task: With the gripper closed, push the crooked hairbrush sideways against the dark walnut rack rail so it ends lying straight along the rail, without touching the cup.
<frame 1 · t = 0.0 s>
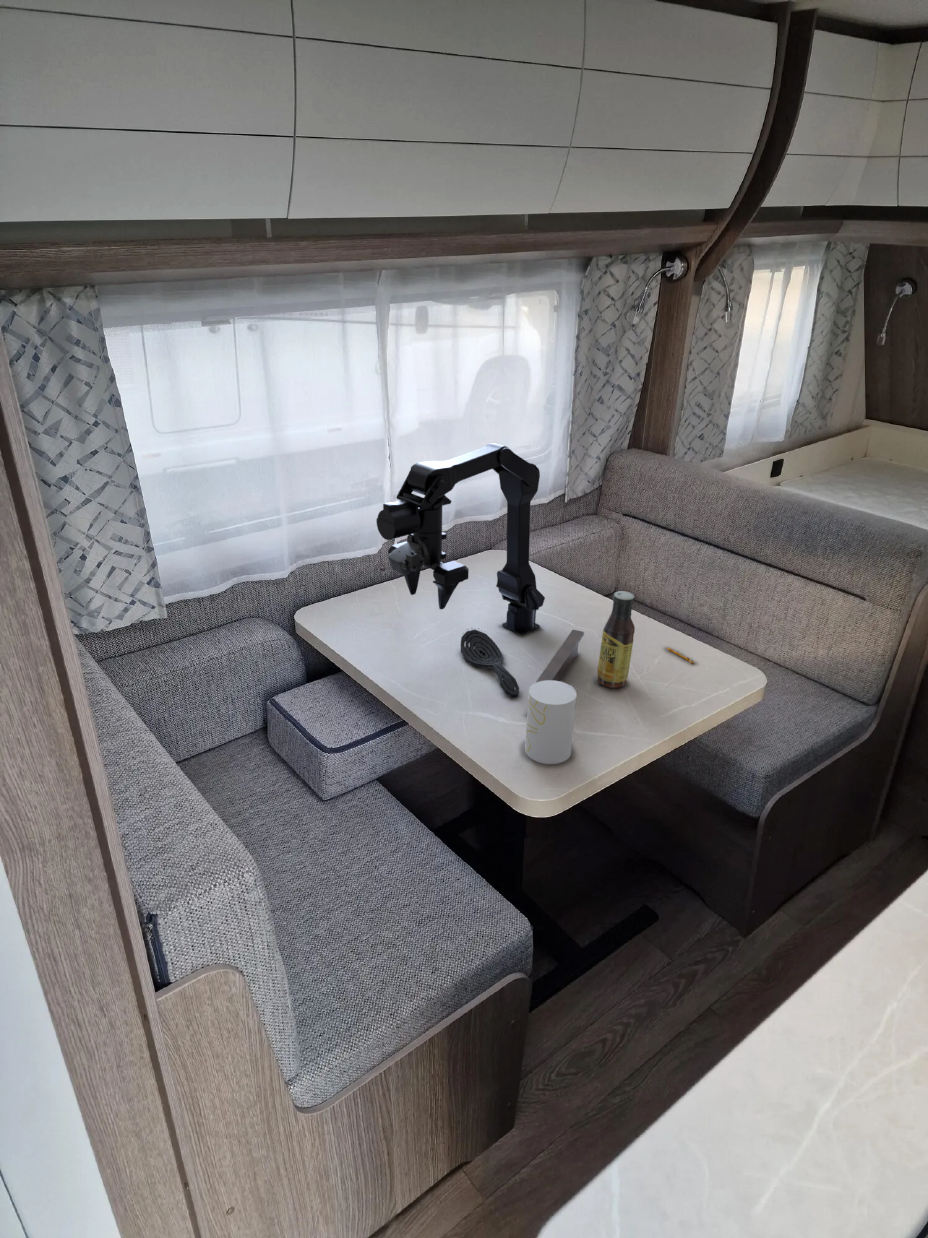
hand: (427, 601, 166), 15 cm above the table, tool pointing down, fingers open, 9 cm apart
golden brown bumpy stick: (679, 658, 179), on the table
hairbrush: (491, 669, 171), on the table
rack rail: (554, 683, 167), on the table
cup: (547, 751, 145), on the table
sauce bottle: (611, 683, 167), on the table
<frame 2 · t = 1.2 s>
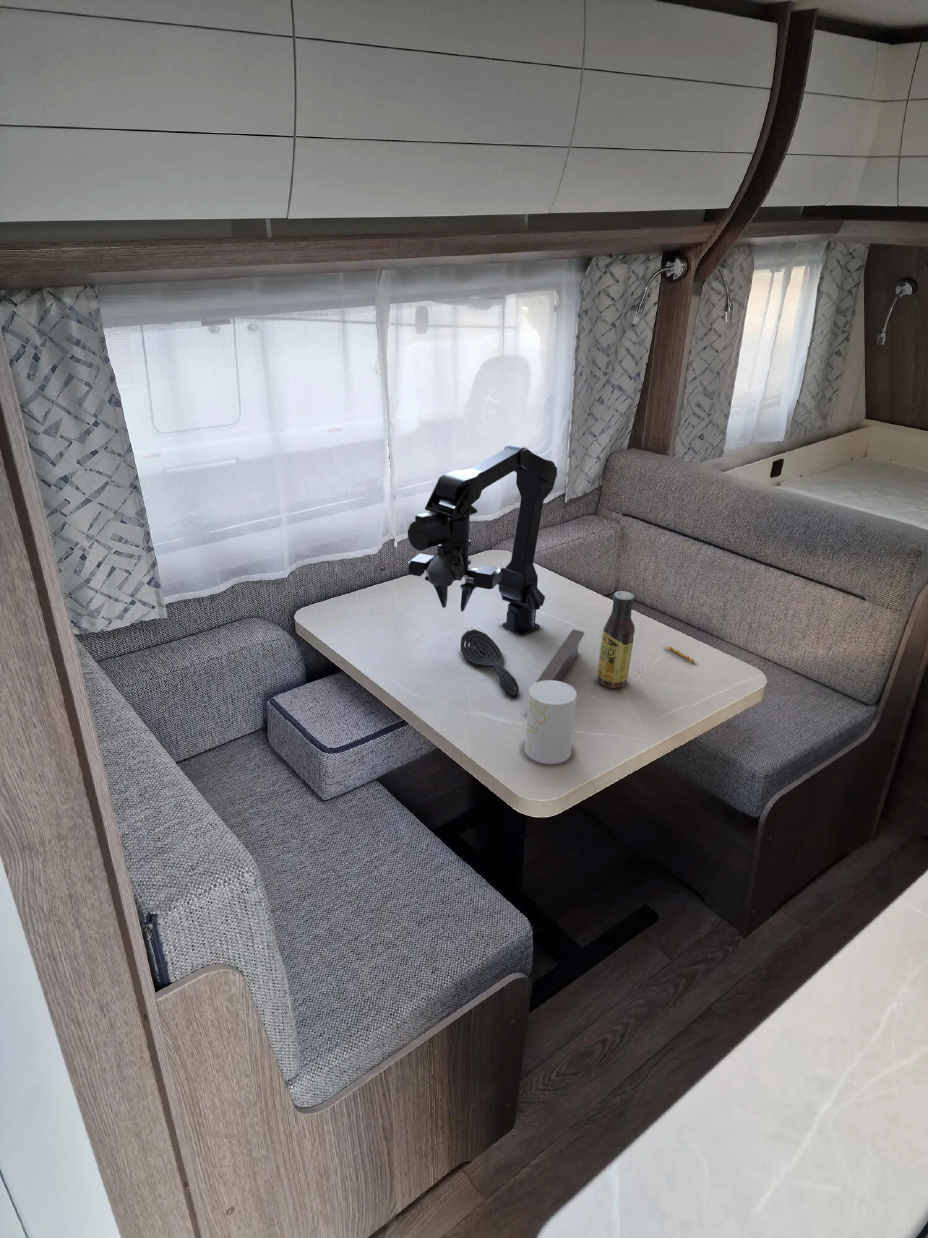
hand: (453, 609, 169), 12 cm above the table, tool pointing down, fingers open, 4 cm apart
nothing on the table moved.
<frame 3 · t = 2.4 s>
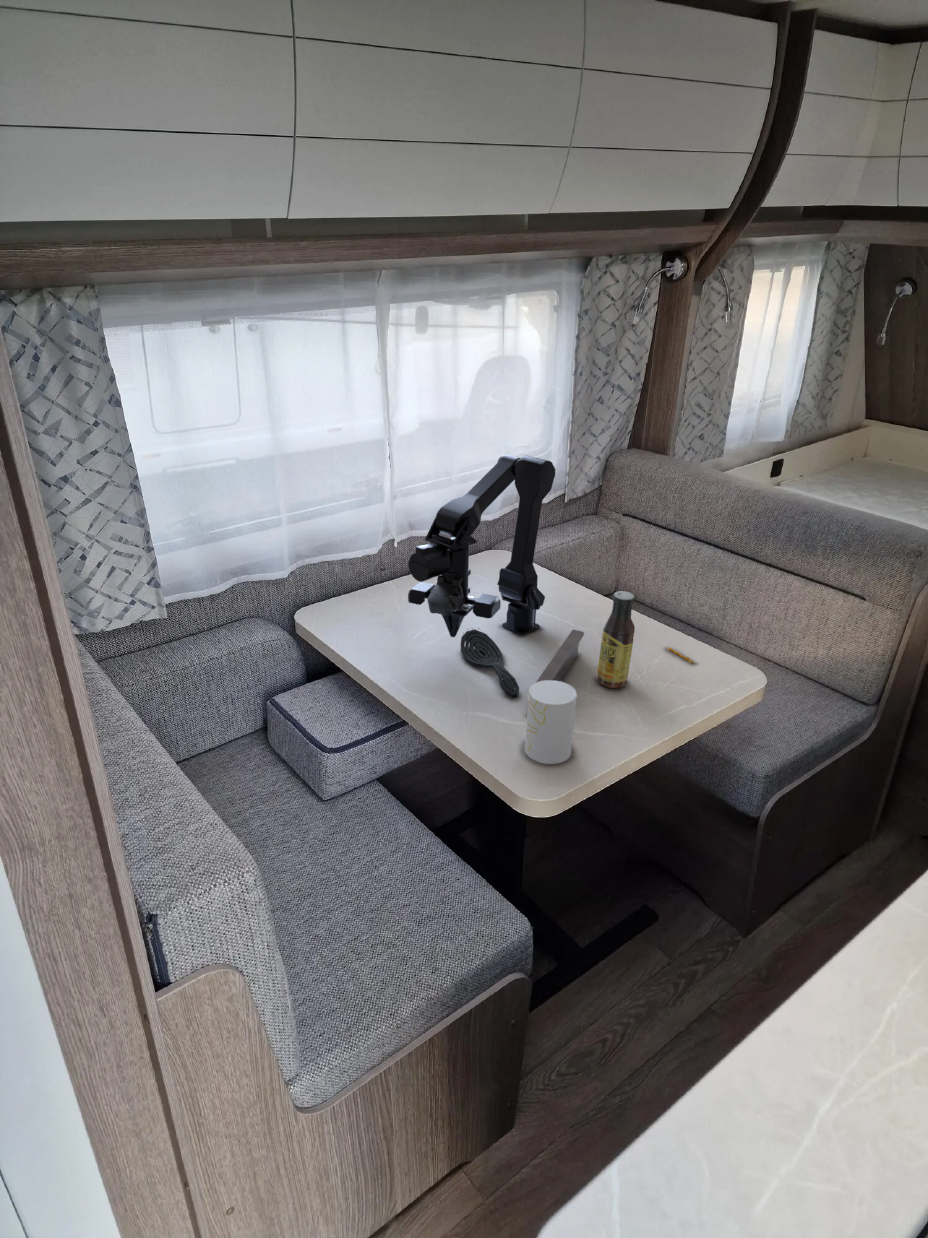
hand: (453, 636, 172), 6 cm above the table, tool pointing down, fingers closed
nothing on the table moved.
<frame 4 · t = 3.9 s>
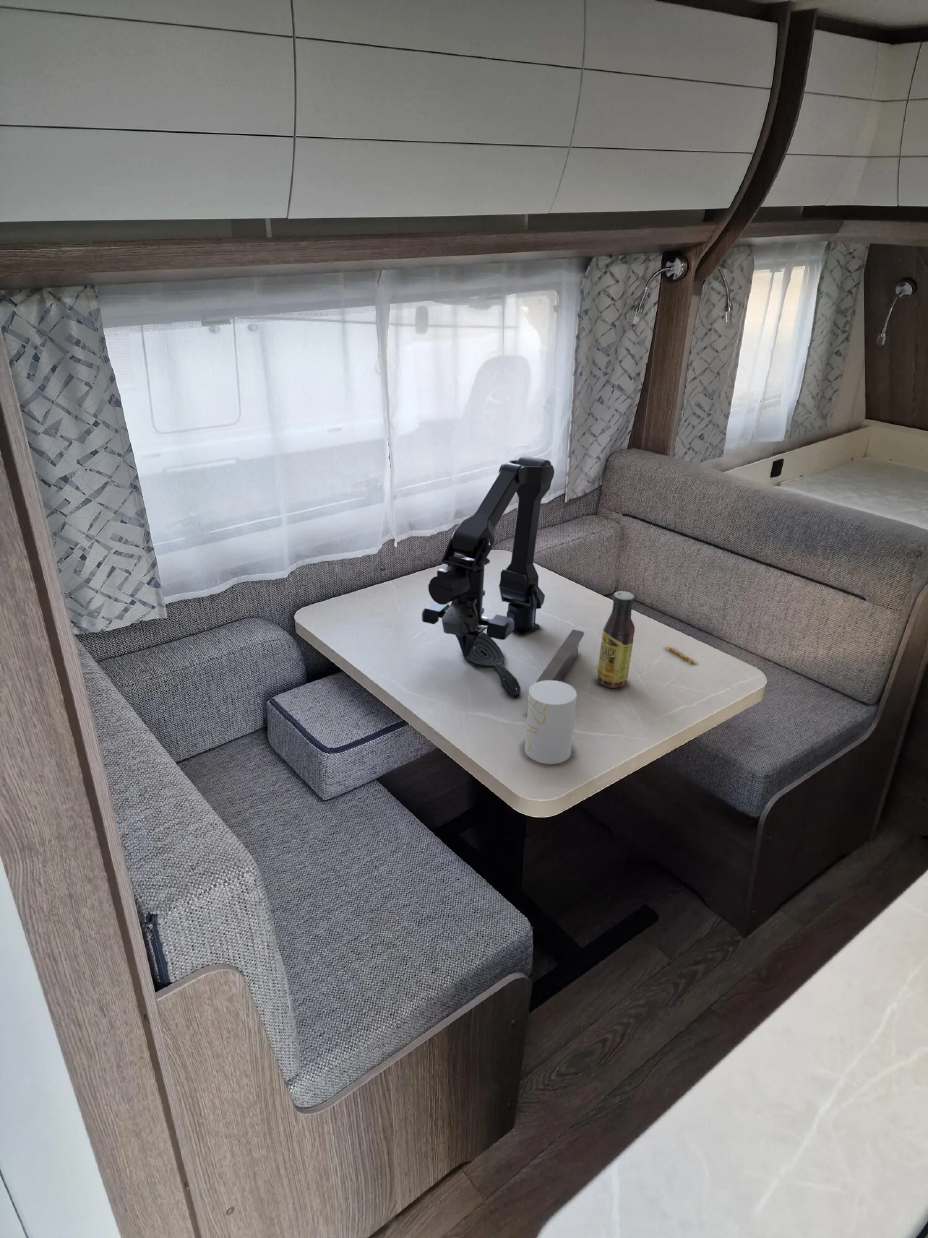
hand: (466, 656, 172), 2 cm above the table, tool pointing down, fingers closed
hairbrush: (492, 669, 171), on the table, touching gripper
everything else where it was.
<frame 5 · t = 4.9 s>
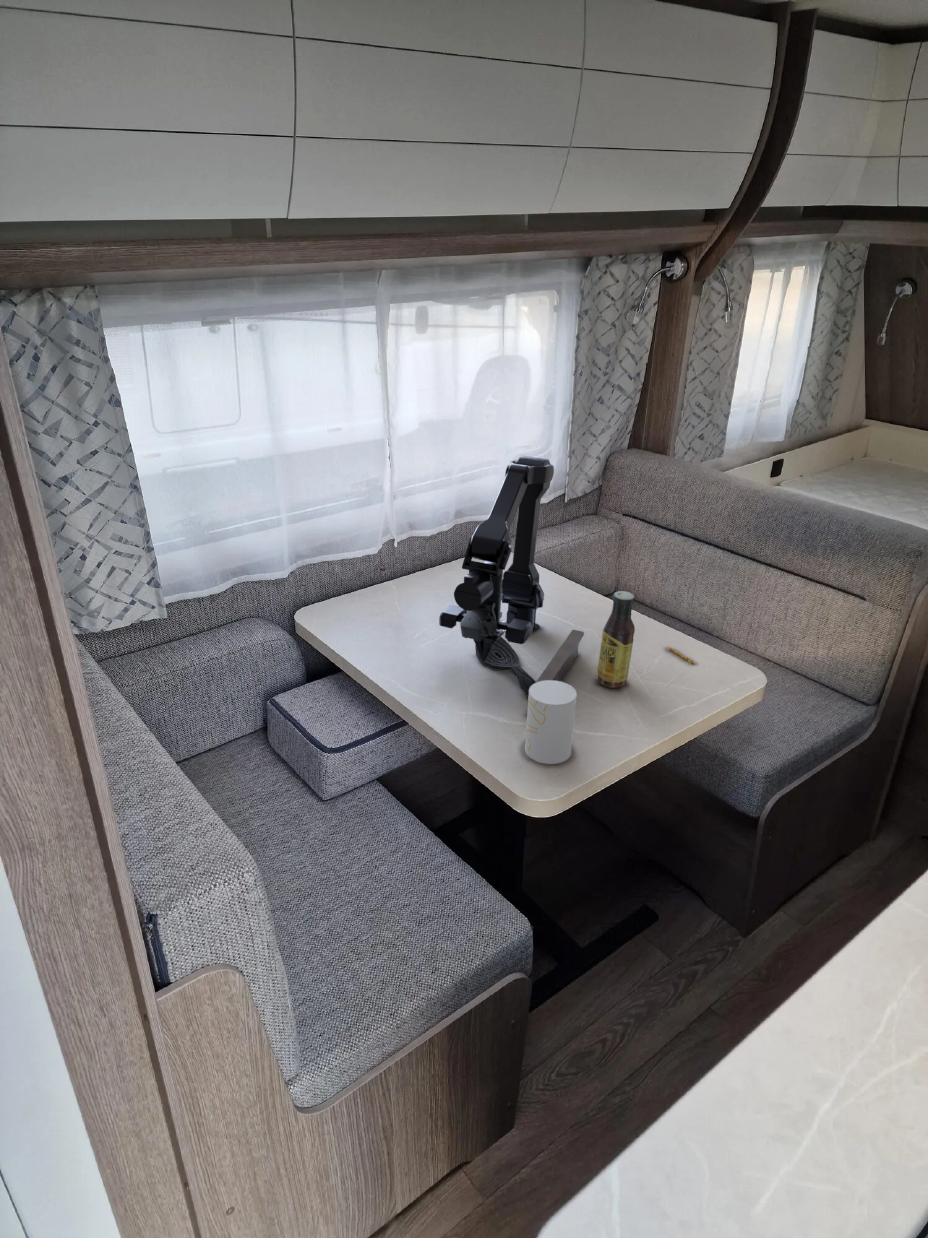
hand: (483, 660, 171), 2 cm above the table, tool pointing down, fingers closed
hairbrush: (509, 671, 171), on the table, touching gripper
everything else where it was.
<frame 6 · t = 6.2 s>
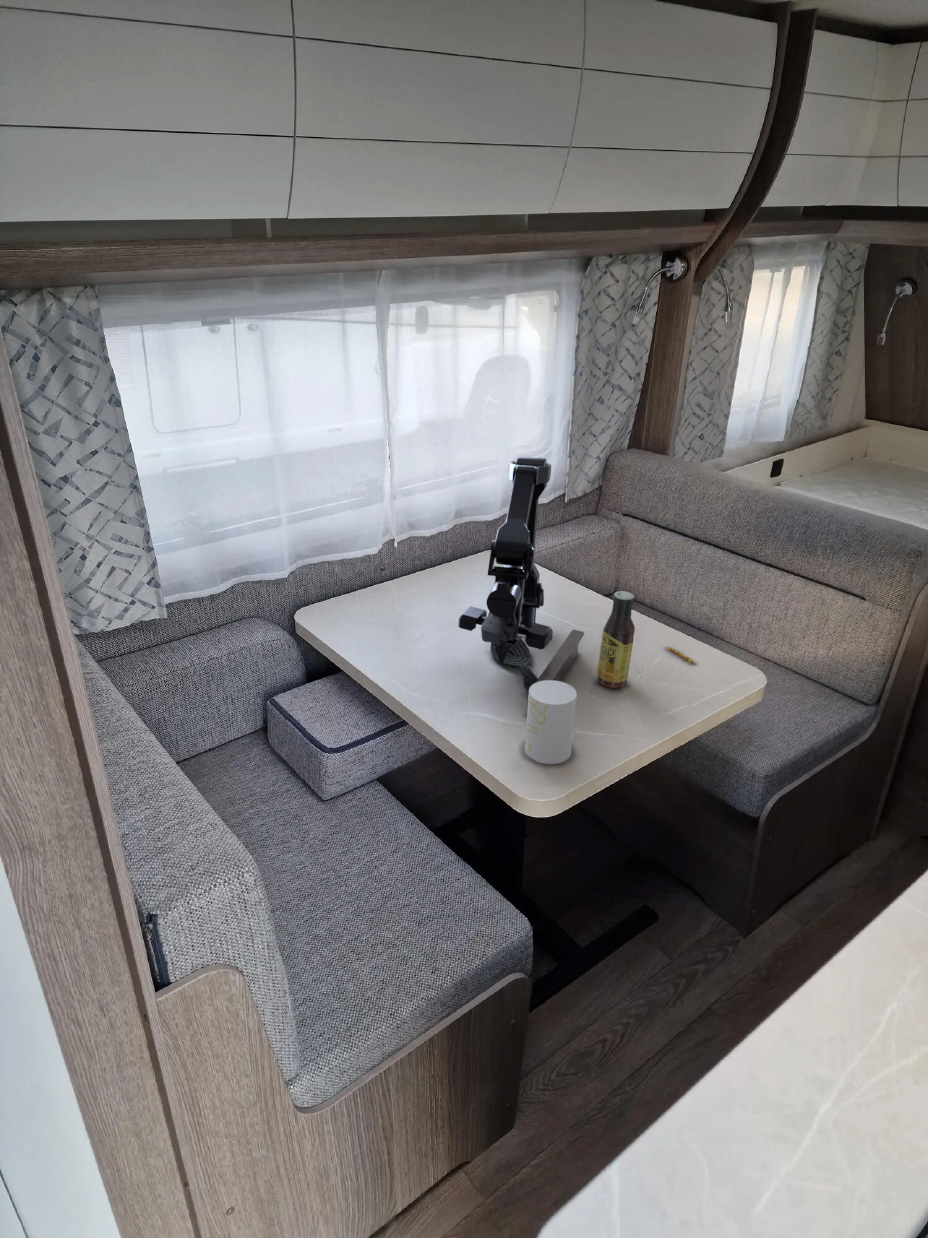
hand: (501, 663, 170), 2 cm above the table, tool pointing down, fingers closed, pressing on hairbrush
hairbrush: (518, 669, 172), on the table, touching gripper, rack rail
everything else where it was.
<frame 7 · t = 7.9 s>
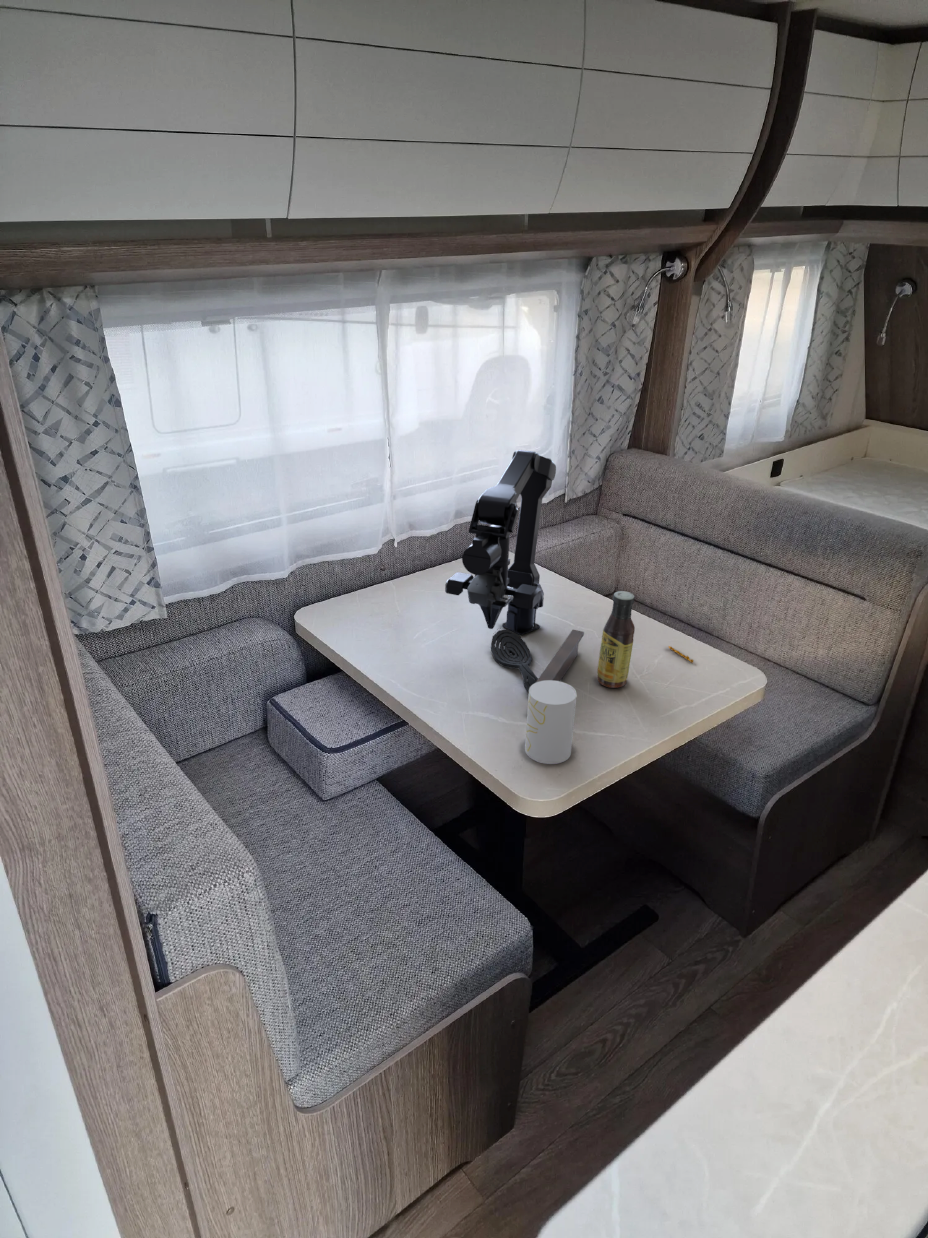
hand: (491, 628, 168), 9 cm above the table, tool pointing down, fingers closed
hairbrush: (519, 669, 172), on the table, touching rack rail
everything else where it was.
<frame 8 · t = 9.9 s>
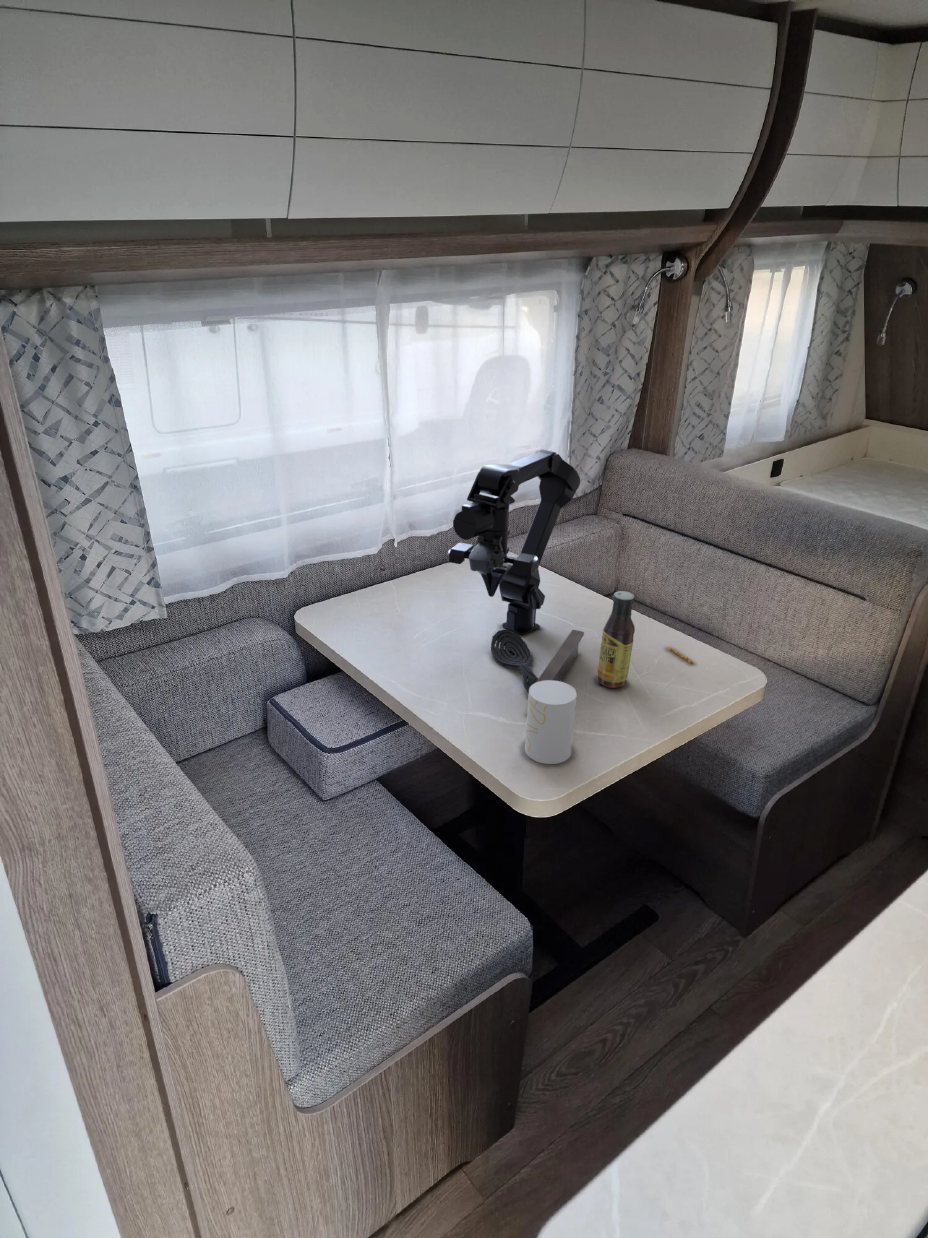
hand: (491, 596, 176), 12 cm above the table, tool pointing down, fingers closed
nothing on the table moved.
at the end: hairbrush touching rack rail, table; hairbrush inside the target area on the table beside the rack rail (0.1 cm from its centre), on the table; cup moved 0.2 cm from its start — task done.
